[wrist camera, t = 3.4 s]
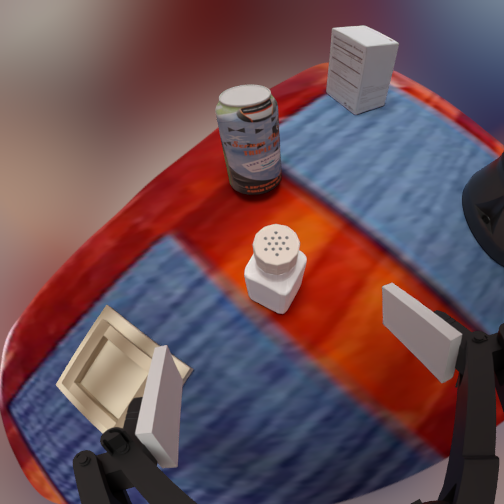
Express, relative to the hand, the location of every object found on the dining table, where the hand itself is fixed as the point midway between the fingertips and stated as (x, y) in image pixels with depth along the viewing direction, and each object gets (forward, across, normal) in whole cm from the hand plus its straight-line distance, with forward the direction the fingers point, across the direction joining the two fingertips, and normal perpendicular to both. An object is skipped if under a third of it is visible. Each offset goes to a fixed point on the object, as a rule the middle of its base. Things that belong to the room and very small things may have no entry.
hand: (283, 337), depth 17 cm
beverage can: (+22, +3, +7) cm, 23 cm away
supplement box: (+31, +24, +17) cm, 43 cm away
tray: (+8, -16, -7) cm, 19 cm away
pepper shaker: (+12, +2, -3) cm, 12 cm away
